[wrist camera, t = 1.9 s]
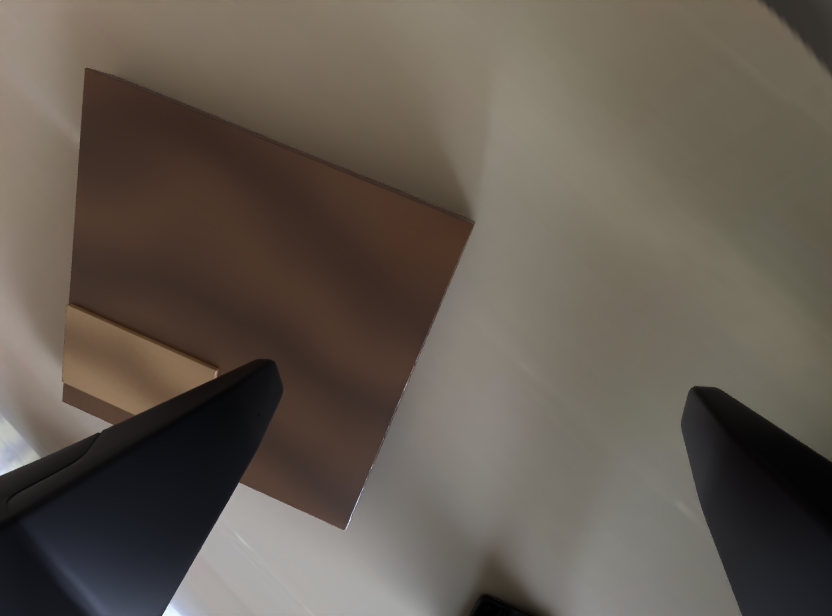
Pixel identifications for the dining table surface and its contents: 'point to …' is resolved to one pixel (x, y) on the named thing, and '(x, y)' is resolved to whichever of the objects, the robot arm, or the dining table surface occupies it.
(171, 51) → the dining table surface
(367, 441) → the serving board
